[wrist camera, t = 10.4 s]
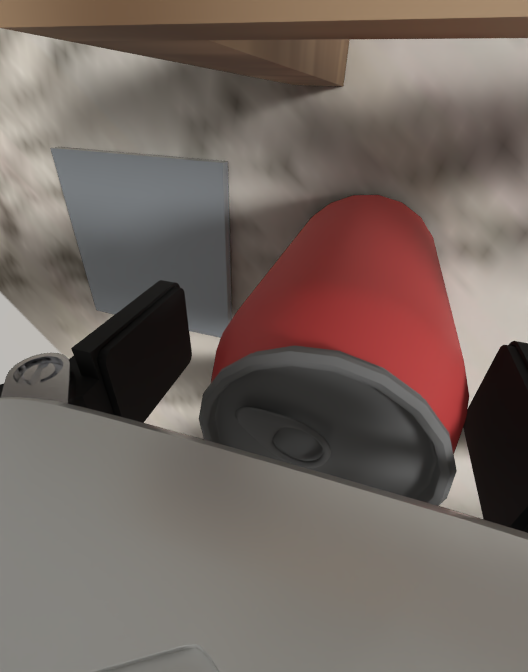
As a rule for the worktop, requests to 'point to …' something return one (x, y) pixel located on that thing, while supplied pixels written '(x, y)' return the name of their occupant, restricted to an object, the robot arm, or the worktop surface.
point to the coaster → (151, 228)
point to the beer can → (347, 356)
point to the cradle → (261, 29)
